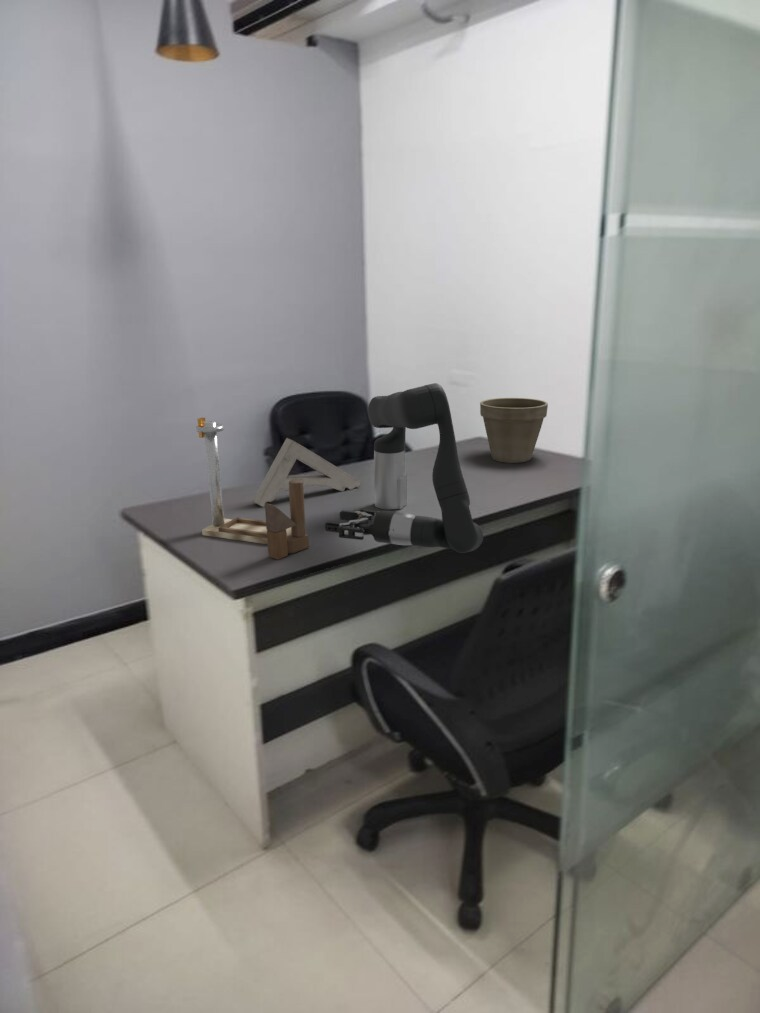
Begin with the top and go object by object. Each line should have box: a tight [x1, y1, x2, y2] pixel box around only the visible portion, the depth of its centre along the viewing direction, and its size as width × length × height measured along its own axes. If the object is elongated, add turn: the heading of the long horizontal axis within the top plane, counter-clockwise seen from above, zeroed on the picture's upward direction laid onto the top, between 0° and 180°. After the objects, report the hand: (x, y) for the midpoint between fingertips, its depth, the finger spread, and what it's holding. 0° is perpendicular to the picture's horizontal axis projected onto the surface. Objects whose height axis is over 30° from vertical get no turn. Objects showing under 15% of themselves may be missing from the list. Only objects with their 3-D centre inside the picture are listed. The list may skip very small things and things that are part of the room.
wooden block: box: [264, 479, 310, 561], centre depth 169 cm, size 4×11×18 cm, turn 139°
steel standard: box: [196, 417, 225, 527], centre depth 183 cm, size 7×7×31 cm
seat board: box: [201, 517, 292, 545], centre depth 184 cm, size 24×10×2 cm, turn 69°
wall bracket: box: [251, 437, 363, 508], centre depth 217 cm, size 22×4×30 cm
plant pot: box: [479, 397, 549, 464], centre depth 257 cm, size 25×25×22 cm
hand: (333, 520), depth 165 cm, fingers open, 8 cm apart
